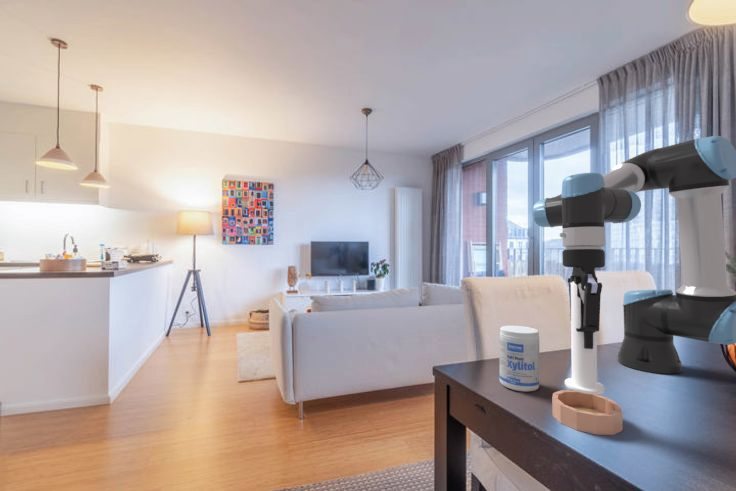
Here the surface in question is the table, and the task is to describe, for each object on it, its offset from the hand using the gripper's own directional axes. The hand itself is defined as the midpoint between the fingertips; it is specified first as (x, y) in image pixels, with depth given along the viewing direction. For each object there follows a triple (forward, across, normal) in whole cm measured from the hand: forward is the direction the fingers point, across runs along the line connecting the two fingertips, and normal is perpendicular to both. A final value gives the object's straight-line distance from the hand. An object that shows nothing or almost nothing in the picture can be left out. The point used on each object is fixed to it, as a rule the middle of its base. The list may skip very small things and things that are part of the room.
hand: (584, 361), depth 71 cm
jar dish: (+12, 0, 0) cm, 12 cm away
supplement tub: (+12, -16, -10) cm, 23 cm away
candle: (+6, 0, 0) cm, 6 cm away
